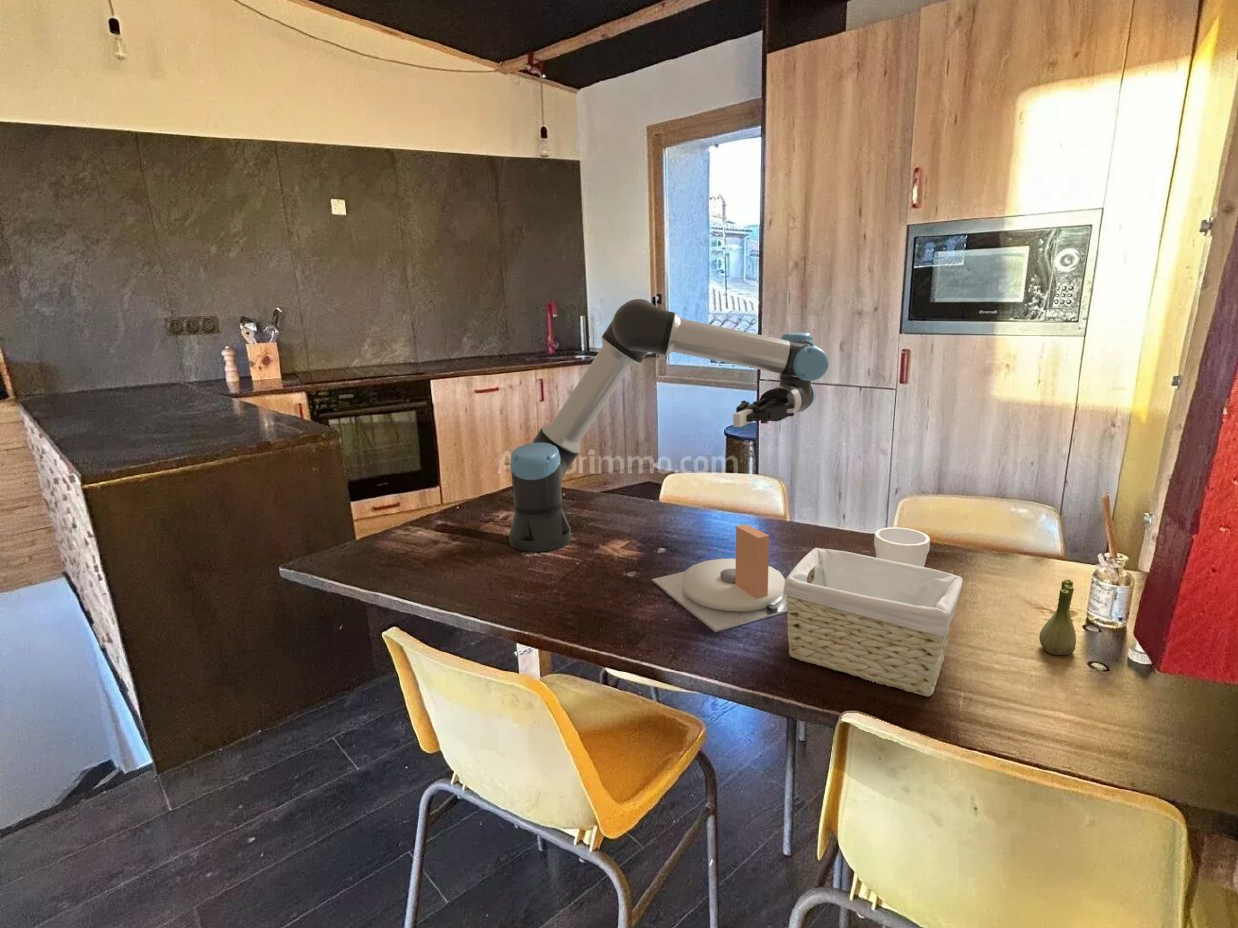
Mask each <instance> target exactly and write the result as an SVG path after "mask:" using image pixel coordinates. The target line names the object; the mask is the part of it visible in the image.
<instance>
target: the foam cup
mask: <svg viewBox="0 0 1238 928" xmlns="http://www.w3.org/2000/svg"><path fill="white" fill-rule="evenodd" d="M930 545H931V538H930V536H929V535H928V534H926V533H924V532H923V531H922V532H921V531H919V530H917V529H916V530H915V529H912V528H907V527H897V526H896V527H895V526H894V527H893V526H892V527H883V528H879V529H877V531H875V532H874V539H873V546H874V548H875V549H874V550H875V558H879V559H885V560H890V561H895V562H900V563H906V564H911V565H916V566H921V567H925V565H926V560H927V556H928V553H929V552H930Z"/></svg>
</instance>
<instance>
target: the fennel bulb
mask: <svg viewBox="0 0 1238 928" xmlns="http://www.w3.org/2000/svg"><path fill="white" fill-rule="evenodd" d="M1073 585H1074V581H1073V580H1071V579H1066V578H1065V579H1064V580H1062V581H1061V588H1060V589H1059V593H1058V594H1059V595H1058V597H1059V598H1058V600H1057V601H1058V603H1057V608H1056V609H1055V610H1056V611H1055V612H1054V613H1053V615H1052V616H1051V617H1049V619H1048V620H1047V622H1046V623H1044V625H1043V627H1042V628H1041V630H1040V631H1039V642H1040V645H1041V647H1042V649H1043V650H1044V651H1045V652H1047V653H1048V654H1051V655H1054V656H1069V655H1071V654H1073V653H1074V651H1076V645H1077V637H1076V636H1077V634H1076V630H1075V626H1074V623H1073V620H1072V617H1071V613H1070V608H1071V604H1072V603H1071V601H1072V599H1073V595H1074V590H1075V588H1074V586H1073Z"/></svg>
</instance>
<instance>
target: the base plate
mask: <svg viewBox="0 0 1238 928" xmlns="http://www.w3.org/2000/svg"><path fill="white" fill-rule="evenodd" d="M684 572H685V571H682V572H677V573H673V574H668V575H664V576H660V577H655V578H651V582H652V583H653V584H654V585H655V586H656V587H658V588H659V589H661V590H662V591H663V592H664V593H666V594H667V595H668V596H669V597H670V598H671V599H673V600H674V601H675V602H677V603H678V604H679V605H680V606H682V607H683V608H684V609H686V610H687V611H688V612H689V613H690V614H692V615H693V616H694V617H695V618H697V619H698V620H699V621H700V622H702V623H703V624H704V625H706V626H707V627H708V628H710V629H711V630H712V631H713V632H714V633H717V632H721V631H725V630H728V629H731V628H736V627H738V626H742V625H745V624H746V625H747V624H750V623H754V622H757V621H760V619H761V620H764V619H767V618H771V617H775V616H778V615H782V614H785V613H788V610H787V606H786V603H787V600H786V597H787V596H786V595H785V594H784V596H783V598H782V599H781V600H780V601H779V602H777V603H776V604H774V605H772V604H771V605H768V606H767V607H766V608H763V609H758V610H752V611H725V610H718V609H713V608H709V607H706V606H703V605H701V604H698V603H696V602H694V601H693V600H691V599H690V598H689V597H687V596H686V594H685V593H684V591H683V574H684ZM784 579H785V580H786V578H784Z"/></svg>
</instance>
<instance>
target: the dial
mask: <svg viewBox="0 0 1238 928" xmlns="http://www.w3.org/2000/svg"><path fill="white" fill-rule="evenodd" d="M769 554H770V535H769V534H767V533H765V532H763V531H762V530H759V529H757V528H755V527H753V526H752V525H750V524H746V523H745V524H742V525H741V524H740V525H736V527H735V558H717V559H709V560H704V561H701V562H698V563H696V564H694V565H691V566H690V567H688V568H687V569H686V570H685V571H683V572H684V574H683V591H684V593H685V594H686V596H687V597H689V598H690V599H691V600H693V601H694V602H696V603H698V604H701V605H703V606H706V607H709V608H713V609H718V610H725V611H752V610H758V609H763V608H766V607H767V606H768V605H771V604H772V605H774V604H776V603H777V602H779V601H780V600H781V599H782V598H783V596H784V592H783V590H784V585H785V579H786V578H785V577H784V576H783V574H782V573H781V572H780V571H778V570H777V569H775V568H774V567H772V566H770V565H769V564H770V561H769V559H770V555H769Z"/></svg>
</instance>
